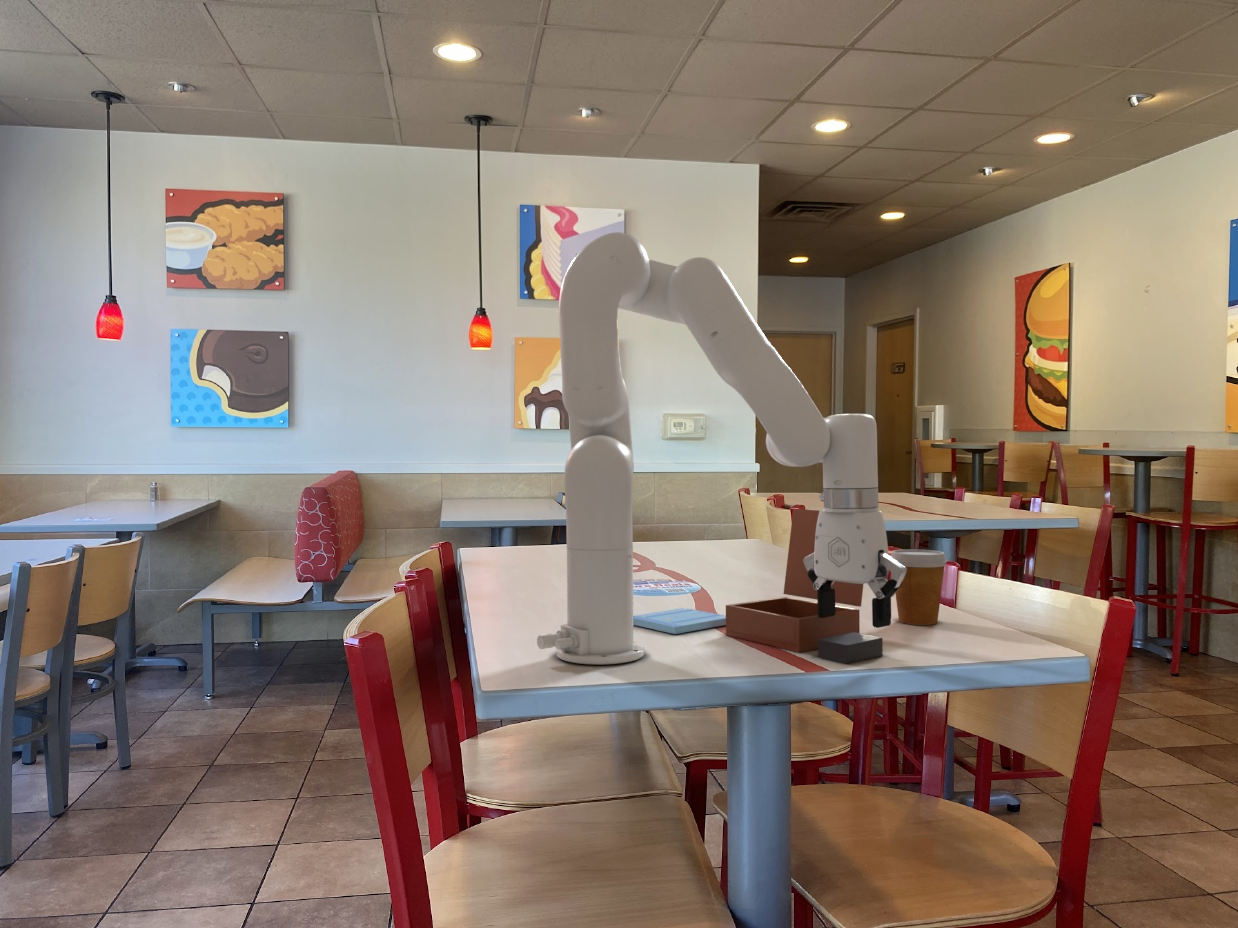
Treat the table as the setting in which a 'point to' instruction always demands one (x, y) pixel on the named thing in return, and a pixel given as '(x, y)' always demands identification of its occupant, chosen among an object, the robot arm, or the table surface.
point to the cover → (796, 570)
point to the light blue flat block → (679, 620)
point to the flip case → (788, 623)
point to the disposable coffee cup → (920, 585)
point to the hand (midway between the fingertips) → (853, 621)
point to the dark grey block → (850, 647)
